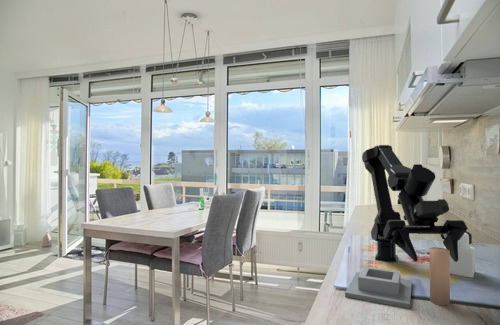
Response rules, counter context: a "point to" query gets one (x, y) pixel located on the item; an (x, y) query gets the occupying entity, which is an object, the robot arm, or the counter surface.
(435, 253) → the dowel
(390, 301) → the socket
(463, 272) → the medicine bottle
